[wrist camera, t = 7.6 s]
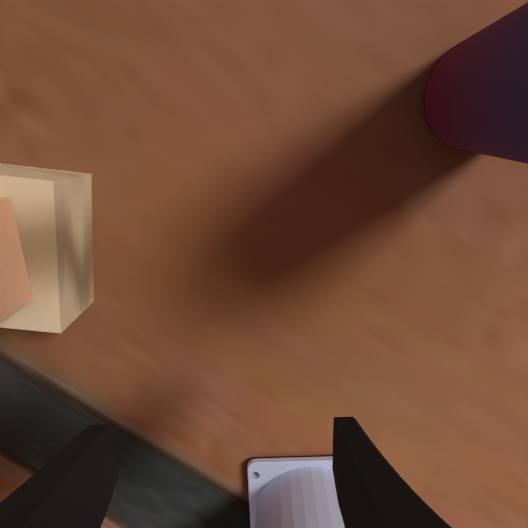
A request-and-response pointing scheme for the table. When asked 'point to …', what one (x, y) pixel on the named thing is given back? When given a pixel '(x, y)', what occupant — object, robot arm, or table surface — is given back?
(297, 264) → the table surface
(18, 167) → the oak block
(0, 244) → the terracotta cube
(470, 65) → the cup
